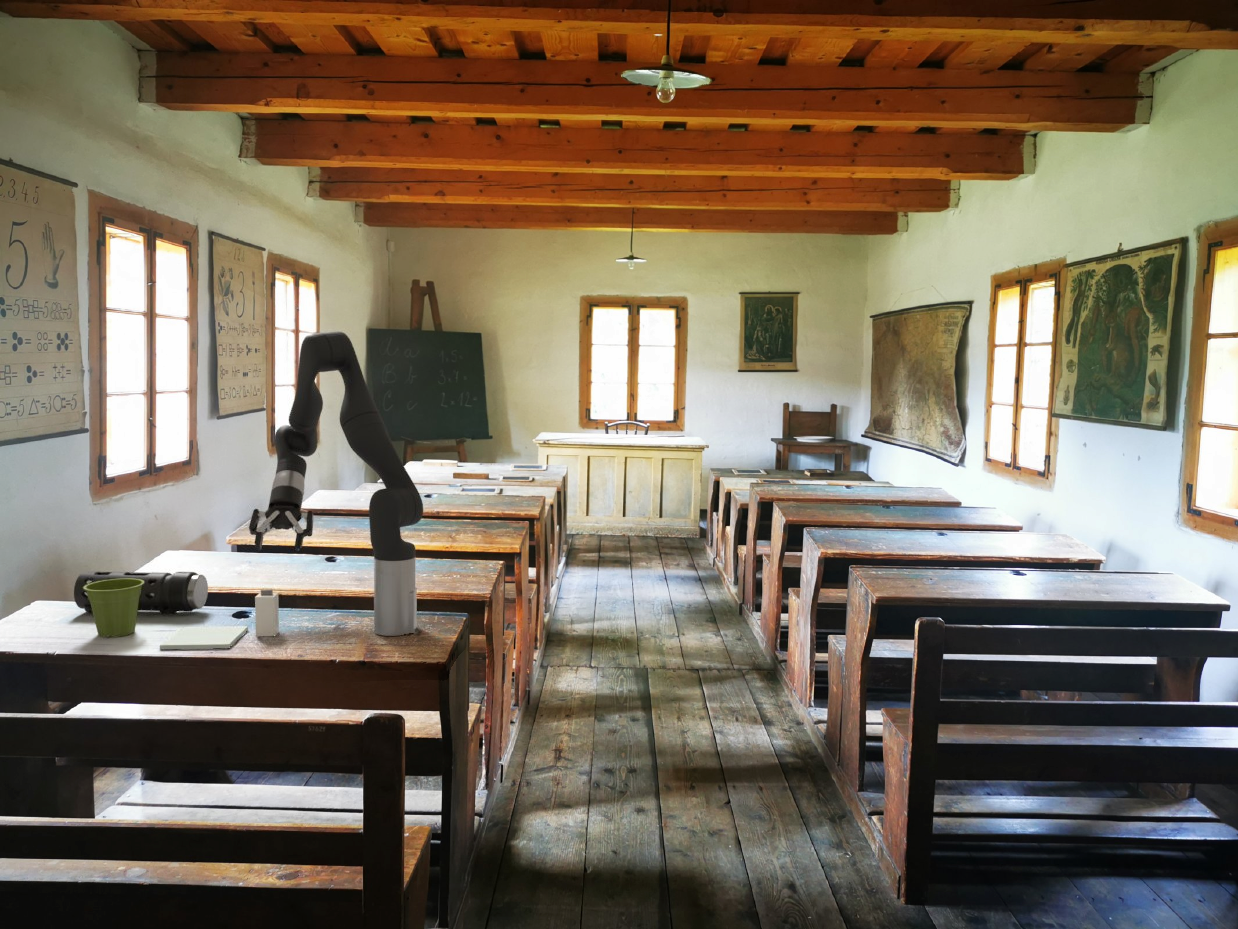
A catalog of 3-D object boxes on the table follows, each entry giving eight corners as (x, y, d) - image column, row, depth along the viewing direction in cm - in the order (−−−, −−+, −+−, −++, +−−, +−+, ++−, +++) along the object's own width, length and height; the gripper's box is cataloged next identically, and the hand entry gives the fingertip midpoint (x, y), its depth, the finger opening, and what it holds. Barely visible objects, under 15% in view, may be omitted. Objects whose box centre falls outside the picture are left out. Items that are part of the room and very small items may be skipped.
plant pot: (111, 624, 208) (110, 576, 207) (157, 628, 206) (156, 579, 205) (72, 639, 196) (70, 588, 195) (120, 643, 194) (118, 591, 193)
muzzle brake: (95, 607, 223) (94, 566, 222) (210, 609, 224) (209, 568, 223) (73, 617, 214) (71, 574, 213) (192, 619, 214) (191, 576, 213)
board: (248, 630, 205) (247, 626, 205) (229, 648, 192) (229, 644, 191) (183, 631, 204) (183, 627, 204) (159, 649, 190) (159, 645, 190)
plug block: (278, 631, 205) (278, 588, 204) (274, 636, 201) (273, 592, 200) (260, 631, 205) (259, 588, 204) (255, 636, 201) (255, 592, 200)
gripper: (254, 483, 219) (243, 539, 210) (316, 485, 222) (307, 541, 212) (259, 500, 225) (248, 556, 215) (318, 502, 228) (310, 557, 218)
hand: (277, 548), depth 214 cm, fingers open, 8 cm apart
